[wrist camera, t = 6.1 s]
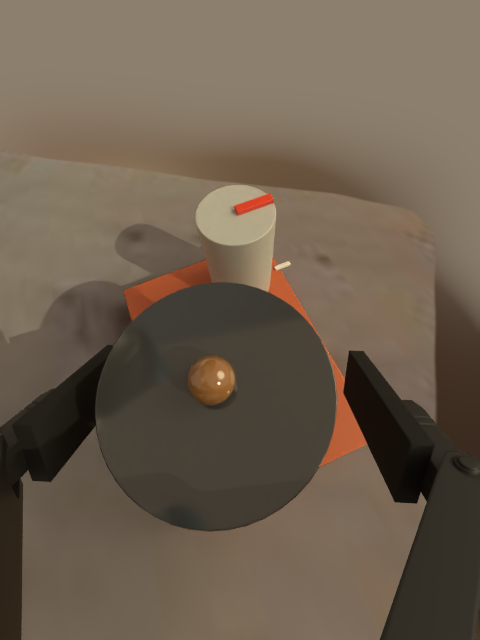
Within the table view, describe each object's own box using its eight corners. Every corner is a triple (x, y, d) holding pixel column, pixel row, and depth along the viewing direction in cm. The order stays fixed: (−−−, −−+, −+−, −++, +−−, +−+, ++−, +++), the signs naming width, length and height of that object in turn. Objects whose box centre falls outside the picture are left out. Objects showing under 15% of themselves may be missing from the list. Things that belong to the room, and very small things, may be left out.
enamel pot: (158, 380, 20) (52, 310, 9) (265, 336, 21) (273, 229, 10) (195, 511, 16) (93, 622, 6) (321, 450, 17) (416, 458, 7)
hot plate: (130, 292, 26) (119, 279, 24) (266, 241, 27) (267, 225, 25) (195, 522, 18) (187, 532, 16) (380, 432, 19) (393, 431, 18)
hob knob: (225, 316, 22) (210, 253, 15) (205, 270, 24) (183, 195, 17) (280, 294, 22) (291, 223, 15) (256, 251, 24) (255, 171, 17)
